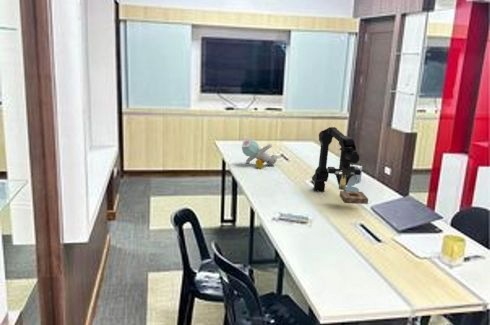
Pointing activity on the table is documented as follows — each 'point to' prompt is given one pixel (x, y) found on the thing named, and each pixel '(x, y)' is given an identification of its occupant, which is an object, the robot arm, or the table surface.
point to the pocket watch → (352, 184)
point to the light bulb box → (358, 175)
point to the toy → (258, 153)
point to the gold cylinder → (342, 181)
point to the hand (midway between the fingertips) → (342, 184)
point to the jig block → (353, 197)
